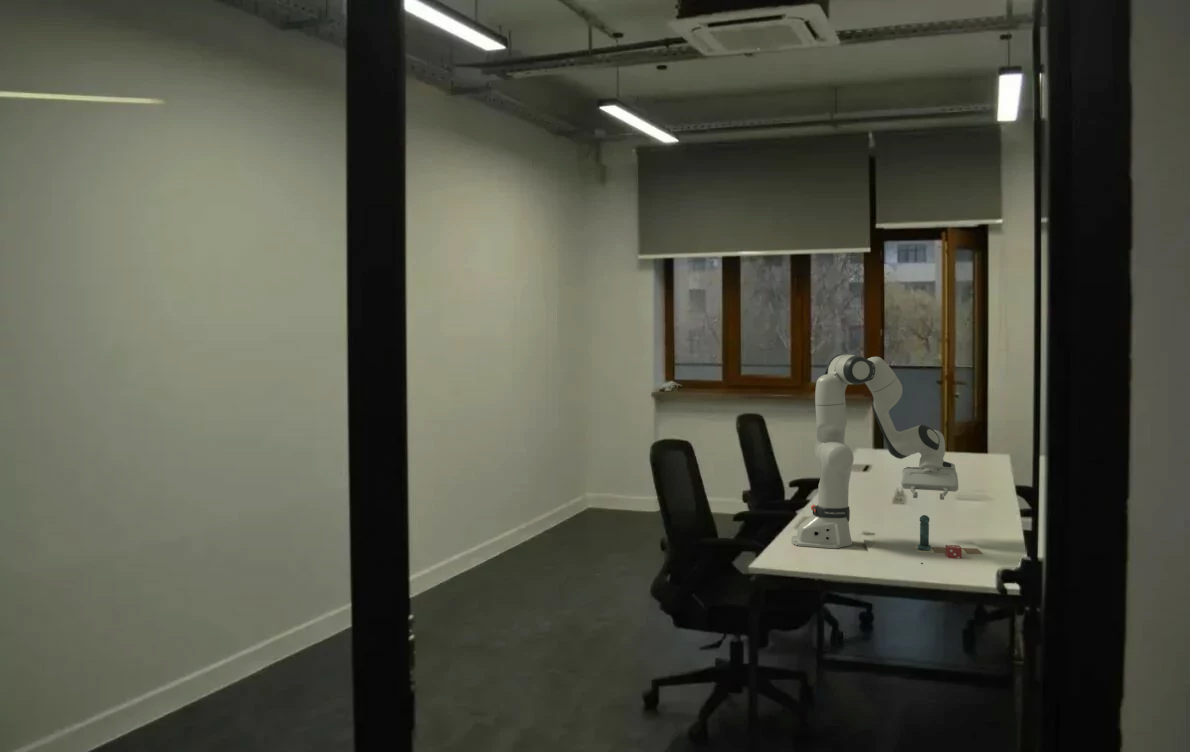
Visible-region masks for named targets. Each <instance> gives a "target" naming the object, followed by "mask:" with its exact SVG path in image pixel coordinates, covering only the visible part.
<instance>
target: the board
mask: <svg viewBox="0 0 1190 752" xmlns="http://www.w3.org/2000/svg"><path fill="white" fill-rule="evenodd" d="M914 548H915V549H916V551H917V552H918V553H927V554H928V553H932V554H946V546H945V547H944V546H943V547H942V546H941V547H939V546H931V550H930V551H921V550H918V546H917V545H916V546H914ZM961 548H962V555H963V554H964V555H984V553H983V552H982V551H981V550H979V549H980V548H977V547H976V548H973V547H961Z"/></svg>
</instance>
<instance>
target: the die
mask: <svg viewBox="0 0 1190 752" xmlns="http://www.w3.org/2000/svg"><path fill="white" fill-rule="evenodd" d="M945 547H946V553H945V557H947V558H948V559H962V556H963V554H962V548H963V547H961V546H960V545H959V544H956V545H955V544H954V545H953V544H945Z"/></svg>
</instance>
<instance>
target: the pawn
mask: <svg viewBox="0 0 1190 752" xmlns="http://www.w3.org/2000/svg"><path fill="white" fill-rule="evenodd" d="M929 539H930V517H929V516H928V515H927V514H923V515H921V516H920V517H919V544H917V547H918V550H921V551H930V550H931V547H932V545H930V544H929V543H930V540H929Z"/></svg>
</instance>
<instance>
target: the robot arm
mask: <svg viewBox="0 0 1190 752" xmlns="http://www.w3.org/2000/svg"><path fill="white" fill-rule="evenodd" d="M862 384H865V385H866V386H867V388H868V390H869V391H870V393H871V395H872V397H873V401H872V402H871V408H872V412H873V415H874V418H875V419H876V422H877V424H878V426H879V429H880V432H881V433H882V435H883V437H884V440H885V444H886V447H887V451H888V452H889V454H890V455H891V456H893V457H895V458H896V459H899V460H903V459H905V458H907V457H910V456H911V455H915V454H918V453H919V454H920V458H919V462H918V463H919V464H918V466H913V467H911V466H906V467H904V468H903V469H902V471H901V475H902V476H901V481H900V483H901V487H902V488H903V489H905V490H910V492H911V493H912V499H918V497H919V495H918V491H916V490H920V491H921V490H922V491H938V492H939V491H940V492H942V493H939V500H941V501H942V500H943V501H944V500H945V497H946V496H947V495H948V493H949V492H957V491H958V490H959V478H958V473H957V470H956V465H955V464H954V463H953V462H949V461H945V459H944V458H945V455H946V443H945V442H946V440H945V438H944V435H943V433H942V432H940V431H939V430H936V429H934V428H932V427H930V426H928V425H925V424H920V425H916V426H913V427H910V428H909V429H908V428H907V429H904V430H901V431H898V430H897V429H896V427H895V425H894V422H893V420H892V419H891V416H890V410H891V409H892V408H893V407H894V406H895V405H896V404H897V403H898V402H899V401H900V399H901V398H902V394H903V391H904V390H903V389H904V388H903V385H902V383H901V381H900V379H899V378H898V377H897V375H896V373H895V372H894V371H893V369H892V368H891V367H890V366H889V365H888V363H887V362H886V361H885V360H884V359H883V358H881V357H880V356H871V357H869V358H866V357H863V356H862V355H854V354H849V353H848V354H847V353H846V354H837V355H835V356H832V358H831V359H830V360H829V361H828V363H827V365H826V369H825V371H824V374H823V375H821V376H819V377H818V379H816V384H815V390H814V391H815V393H814V403H815V420H816V422H815V423H816V429H815V444H814V457H815V459H816V461H817V462H818V463H819V464H820V465H821V473H820V478H819V483H818V486H817V487H818V488H817V489H818V490H817V492H818V493H817V495H818V497H817V501H818V504H817V505H815V504H812V505H811V506H810V509H811V510H812V515H810V516H809V517H808V518H807V519H806V520H804V521H802V522H801V523H800V525H799V526H798V528H797V531H796V532H797V533H796V535H794V536H792V537H791V541H792V542H791V541H790V542H791V544H793V545H794V544H795V545H794V546H797V545H798V546H797V547H810V548H822V549H823V548H824V549H840V548H843V547H849V546H852V545H853V540H852V537H851V531H850V530H851V529H850V519H851V511H850V510H851V509H850V505H849V486H850V485H849V484H850V479H851V472H852V468H853V467H852V466H853V464H854V459H855V458H854V454H853V451H852V450H851V448H850V447H849V445H847V444H845V435H846V427H847V423H848V422H847V420H848V419H847V409H846V407H847V406H846V404H847V403H846V389H847V386H848V385H862Z"/></svg>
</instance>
